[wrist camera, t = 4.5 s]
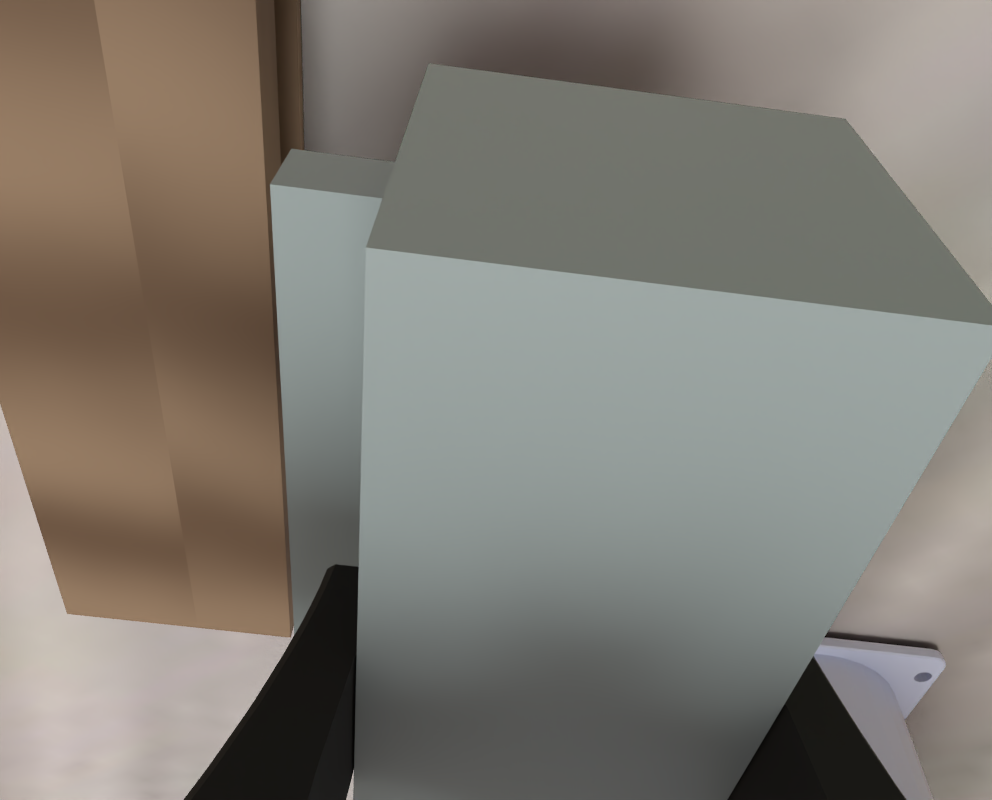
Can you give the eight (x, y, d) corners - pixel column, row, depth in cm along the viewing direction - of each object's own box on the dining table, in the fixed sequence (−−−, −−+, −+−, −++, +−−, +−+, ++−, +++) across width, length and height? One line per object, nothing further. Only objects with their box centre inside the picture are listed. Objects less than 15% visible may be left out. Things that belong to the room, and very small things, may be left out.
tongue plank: (610, 736, 19) (626, 968, 15) (318, 706, 18) (266, 935, 15) (845, 119, 10) (1009, 327, 7) (299, 45, 10) (164, 222, 6)
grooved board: (313, 553, 25) (290, 637, 23) (111, 531, 25) (67, 613, 23) (294, -232, 14) (243, -225, 11) (-88, -289, 13) (-222, -293, 11)
